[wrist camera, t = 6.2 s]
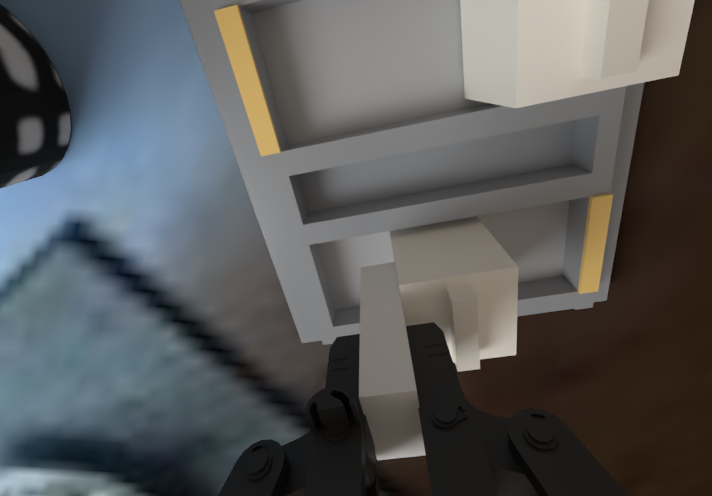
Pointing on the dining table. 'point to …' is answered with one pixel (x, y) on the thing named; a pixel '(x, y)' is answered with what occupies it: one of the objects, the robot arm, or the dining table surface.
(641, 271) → the dining table surface
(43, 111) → the spotted tube
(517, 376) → the dining table surface
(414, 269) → the tab
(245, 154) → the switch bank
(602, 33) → the tab
